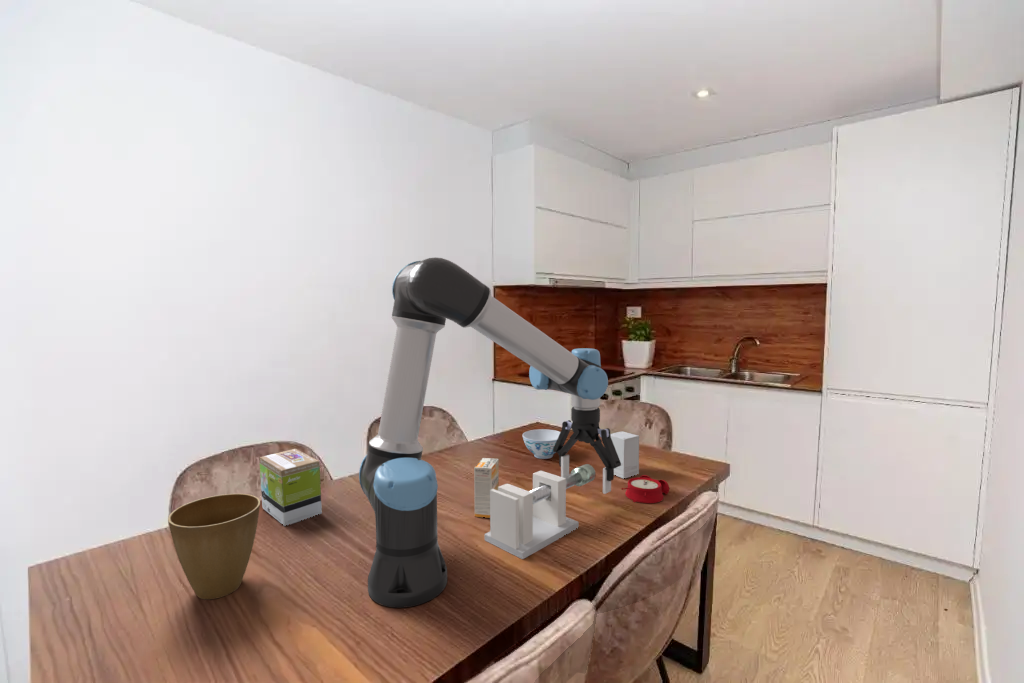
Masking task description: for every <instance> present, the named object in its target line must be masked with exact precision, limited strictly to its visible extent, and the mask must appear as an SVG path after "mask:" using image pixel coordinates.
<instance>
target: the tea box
mask: <svg viewBox="0 0 1024 683" xmlns="http://www.w3.org/2000/svg"><path fill="white" fill-rule="evenodd" d="M258 461H259V472H260V473H259V474H260V476H259V478H260V490H261V492H260V493H261V506H262V509H263V510H264V511H265V512H266V513H268V514H269V515H270V516H272V517H273V518H274V519H275V520H276V521H277V522H278V523H280V524H281V525H282V524H283V527H286V525H287V526H289V524H290V525H293V524H296V523H299V522H301V520H302V521H304V519H305V520H308V519H310V517H311V518H313V516H314V517H316V516H315V515H317V516H319V515H321V514H323V512H322V510H323V508H322V490H321V489H322V488H321V487H322V486H321V468H320V467H321V466H320V460H318V459H316V458H314V457H312V456H311V455H308V454H306V453H305V452H303V451H301V450H300V449H297V448H293V449H288V450H284V451H281V452H277V453H272V454H267V455H263V456H259V460H258ZM318 514H319V515H318ZM307 518H308V519H307Z"/></svg>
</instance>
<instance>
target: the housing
mask: <svg viewBox="0 0 1024 683" xmlns="http://www.w3.org/2000/svg"><path fill="white" fill-rule="evenodd" d="M545 484H547V485H549V486H551V496H550V497H548V498H546V499H543V500H541V501H539V502H537V503H535V504H533V493H532V492H529V491H530V490H525V489H524V488H522V487H521V488H520V487H519V486H516V485H513V484H510V483H504V484H502V485H499V487H498V490H495V489H491V490H490V518H489V520H490V521H489V522H490V523H489V524H490V529H489V531H488V532H486V533H484V541H485V542H487V543H489V544H491V545H493V546H494V547H497V548H499V549H501V550H503V551H505V552H507V553H509V554H511V555H513V556H515V557H517V558H519V559H521V560H524V559H526V558H528V557H530V556H531V555H533V554H535V553H536V552H539V551H540V550H542V549H544V548H546V547H547V546H549V545H551V544H552V543H554V542H556V541H558V540H559V538H560V539H561V538H563V537H565V536H567V535H568V534H571V533H572V532H574V531H575V530H577V529H578V527H580V526H579V521H577V520H575V519H573V518H570V517H567V515H566V513H567V511H566V510H567V508H566V507H567V501H566V500H567V498H566V497H567V492H566V491H567V489H566V478H563V477H561V475H560V476H559V475H556V474H553V473H550V472H546V471H544V470H538V471H536V472H534V473H532V490H534V489H536V488H538V487H541V486H543V485H545ZM576 528H577V529H576ZM573 530H574V531H573ZM571 531H572V532H571ZM566 534H567V535H566ZM564 535H565V536H564Z"/></svg>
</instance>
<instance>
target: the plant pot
mask: <svg viewBox="0 0 1024 683" xmlns="http://www.w3.org/2000/svg"><path fill="white" fill-rule="evenodd" d="M260 507H261V501H260V498H259V497H258V496H255V495H253V494H248V493H226V494H225V493H224V494H217V495H212V496H208V497H203V498H199V499H195V500H192V501H190V502H188V503H187V502H186V503H185V504H182V505H180V506H179V507H177V508H176V509H174V510H173V511H172V512H170V514H169V515H168V516H167V522H168V526H169V530H170V535H171V539H172V542H173V546H174V549H175V552H176V555H177V558H178V561H179V563H180V566H181V568H182V571H183V572H184V575H185V577H186V578H187V581H188V583H189V584H190V586H191V588H192V590H193V592H194V594H195V595H196V596H197V597H198V598H199V599H201V600H216V599H219V598H223V597H226V596H228V595H230V594H232V593H233V592H235V591H236V590H238V588H239V587H240V586H241V583H242V582H243V579H244V576H245V573H246V570H247V568H248V564H249V562H250V557H251V555H252V550H253V546H254V542H255V539H256V534H257V530H258V522H259V514H260Z"/></svg>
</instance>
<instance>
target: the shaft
mask: <svg viewBox="0 0 1024 683" xmlns="http://www.w3.org/2000/svg"><path fill="white" fill-rule="evenodd" d="M596 475H597V474H596V470H595V468H594V467H593V465H591V464H588V463H586V464H582V465H580V466H578V467H576V468H574V469H573V468H572V470H571V471H570V472H569V475H567V476H564V477H563V478H566V490H567V489H570V488H571V487H575V486H576V487H582V486H584V485H586V484H588V483H591V482H593V481H594V480H595V478H596ZM528 491H529V492H532V493H533V504H535V503H537V502H539V501H541V500H543V499H546V498H548V497H550V496H551V486H549V485H547V484H545V485H543V486H541V487H538V488H536V489H534V490H533V489H532V490H528Z"/></svg>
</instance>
